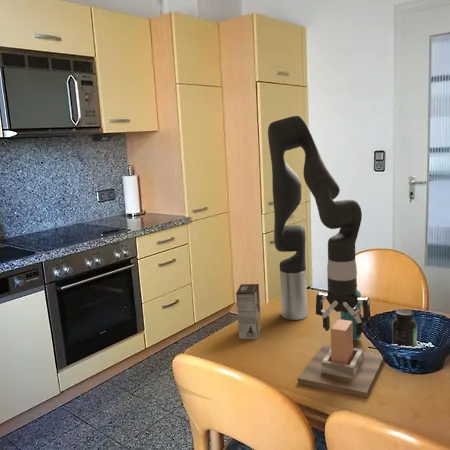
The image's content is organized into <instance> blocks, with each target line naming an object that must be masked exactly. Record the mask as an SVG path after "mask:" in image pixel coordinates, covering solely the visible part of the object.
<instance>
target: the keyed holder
mask: <svg viewBox="0 0 450 450" xmlns="http://www.w3.org/2000/svg"><path fill="white" fill-rule="evenodd" d="M381 354H382V353H377V352H372V351H366V350H364V349H362V348H356V347H355V348H354V347H353V360H352V361H351V363H350V365H346V364H341V363H335V362H331V344H329V345H328V344H323V345H322V346H321V347H320V348H319V350H318V351H317V352H316V353H315V355H314V356H313V357H312V358H311V360H310V362H309V363H308V364H307V365H306V367H305V368H304V369H303V370H302V372H301V373H300V375H299V376H298V377H297V384H300V385H303V386H309V387H312V386H313V388H317V387H318V389H322V390H327V391H331V392H336V393H339V394H340V393H341V394H346V395H351V396H355V397H360V398H364V399H367V398H368V396H369V394H370V392H371V391H372V387H373V386H374V383H375V382H376V380H377V377H378V375H379V372H380V371H381V369H382V366H383V364H384V362H385V360H384V359H383V357H382V355H381Z"/></svg>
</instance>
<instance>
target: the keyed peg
mask: <svg viewBox="0 0 450 450" xmlns="http://www.w3.org/2000/svg"><path fill="white" fill-rule="evenodd" d="M353 342H354V340H353V321H348V320H341V318H340V319H337V320H336V321H335V323H334V324H333V325H332V326H331V327H330V345H331V362H335V363H341V364H346V365H350V363H351V361H352V360H353V348H354V343H353Z"/></svg>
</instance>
